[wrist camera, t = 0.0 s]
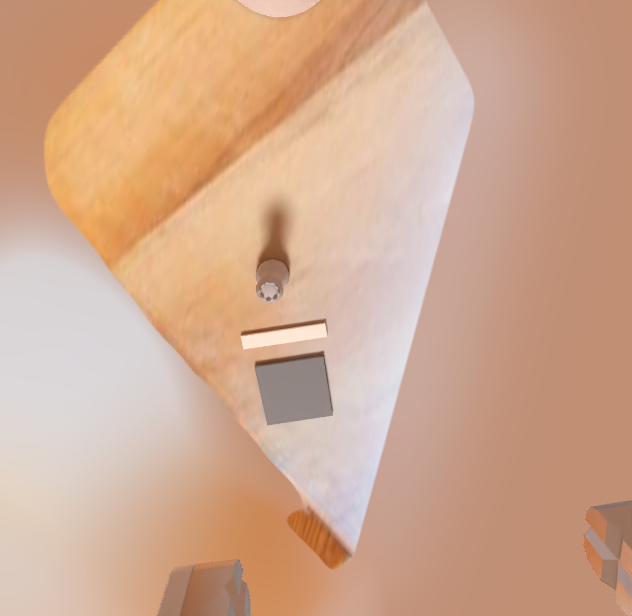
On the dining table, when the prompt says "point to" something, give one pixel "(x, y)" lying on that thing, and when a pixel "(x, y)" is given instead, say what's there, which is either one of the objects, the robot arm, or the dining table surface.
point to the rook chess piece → (271, 280)
